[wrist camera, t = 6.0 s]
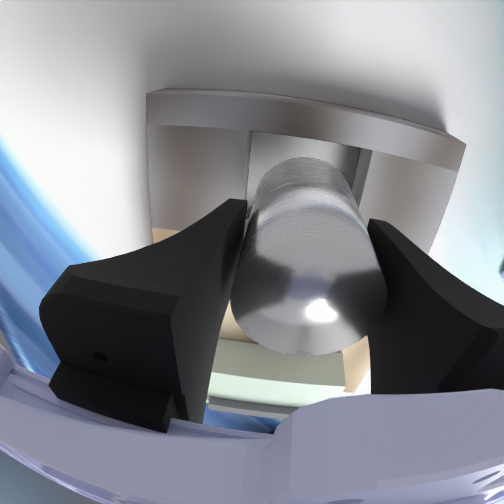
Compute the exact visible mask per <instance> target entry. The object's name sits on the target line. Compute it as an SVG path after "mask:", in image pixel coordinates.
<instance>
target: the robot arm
mask: <svg viewBox="0 0 504 504" xmlns="http://www.w3.org/2000/svg"><path fill="white" fill-rule="evenodd" d="M246 209H247V200H241V199H232V198H229V199H228V200H226V201H225V202H224V203H222V204H221V205H220V206H218V207H217V208H216V209H214V210H213V211H211V212H210V213H209V214H207V215H206V216H204V217H203V218H201V219H200V220H198V221H197V222H195V223H193V224H192V225H190V226H189V227H187V228H185V229H184V230H182V231H180V232H178V233H176V234H174V235H172V236H170V237H168V238H166V239H164V240H162V241H159V242H157V243H154V244H152V245H149V246H146V247H144V248H141V249H139V250H136V251H133V252H129V253H126V254H123V255H119V256H115V257H111V258H108V259H103V260H98V261H93V262H87V263H82V264H76V265H69V266H68V267H67V269H66V270H65V271H64V272H63V273H62V275H61V276H60V277H59V278H58V280H57V281H56V282H55V283H54V285H53V286H52V287H51V289H50V290H49V291H48V293H47V294H46V295H45V296H44V298H43V299H42V301H41V304H40V306H39V316H40V320H41V323H42V326H43V328H44V331H45V333H46V335H47V337H48V339H49V341H50V342H51V344H52V346H53V348H54V350H55V352H56V354H57V355H58V357H59V359H60V361H61V362H60V364H59V366H58V368H57V369H56V371H55V373H54V375H53V377H52V379H51V380H50V379H48V378H45V377H43V376H40V375H38V374H36V373H33V372H31V371H29V370H27V369H25V368H22V367H20V366H18V365H16V364H14V361H13V359H12V358H11V356H10V354H9V353H8V352H7V350H5V348H4V347H3V346H2V345H1V344H0V450H2V451H4V452H5V453H7V454H8V455H10V456H11V457H13V458H14V459H16V460H18V461H19V462H21V463H23V464H24V465H26V466H28V467H29V468H31V469H33V470H34V471H36V472H38V473H40V474H42V475H43V476H45V477H47V478H49V479H51V480H53V481H55V482H57V483H59V484H61V485H63V486H65V487H67V488H69V489H71V490H73V491H75V492H77V493H79V494H82V495H84V496H86V497H88V498H91V499H93V500H95V501H98V502H100V503H103V504H494V503H496V502H498V501H501V500H503V499H504V306H503V305H501V304H499V303H497V302H495V301H493V300H492V299H490V298H488V297H486V296H485V295H483V294H481V293H480V292H478V291H476V290H475V289H473V288H471V287H470V286H468V285H467V284H465V283H464V282H462V281H461V280H459V279H458V278H457V277H455V276H454V275H452V274H451V273H450V272H448V271H447V270H446V269H444V268H443V267H442V266H440V265H439V264H438V263H437V262H436V261H434V260H433V259H432V258H431V257H429V256H428V255H427V254H426V253H425V252H423V251H422V250H421V249H420V248H419V247H418V246H416V245H415V244H414V243H413V242H412V241H411V240H409V239H408V238H407V237H406V236H405V235H404V234H402V233H401V232H400V231H399V230H398V229H396V228H395V227H394V226H392V225H391V224H390V223H388V222H386V221H383V220H377V219H371V218H370V219H369V222H368V226H367V231H368V234H369V237H370V239H371V242H372V245H373V248H374V250H375V253H376V256H377V259H378V262H379V264H380V267H381V270H382V273H383V276H384V279H385V283H386V286H387V303H386V307H385V310H384V313H383V315H382V317H381V319H380V320H379V322H378V324H377V325H376V326H375V327H374V329H373V330H372V331H371V332H370V333H369V334H368V335H367V337H368V343H369V351H370V368H371V394H366V395H357V396H347V397H335V398H329V399H326V400H323V401H320V402H317V403H313V404H310V405H307V406H304V407H301V408H298V409H297V410H296V411H294V412H293V413H292V414H291V415H289V416H288V417H287V418H286V419H285V420H284V421H283V422H281V423H280V424H279V425H278V426H277V427H276V430H275V432H274V434H266V433H257V432H249V431H241V430H234V429H228V428H221V427H215V426H210V425H204V424H202V423H203V417H204V411H205V405H206V399H207V394H208V388H209V383H210V378H211V372H212V367H213V362H214V357H215V352H216V347H217V342H218V338H219V333H220V329H221V325H222V322H223V319H224V316H225V313H226V310H227V307H228V304H229V301H230V293H231V288H232V284H233V280H234V276H235V272H236V268H237V264H238V260H239V256H240V252H241V249H242V245H243V241H244V232H245V221H246ZM501 278H502V280H503V282H504V271H503V272H502V275H501Z"/></svg>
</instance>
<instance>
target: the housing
mask: <svg viewBox="0 0 504 504" xmlns="http://www.w3.org/2000/svg"><path fill="white" fill-rule="evenodd" d="M146 120H147V160H148V181H149V197H150V211H151V223H152V234H153V244H154V243H157V242H159V241H162V240H164V239H166V238H168V237H170V236H172V235H174V234H176V233H178V232H180V231H182V230H184V229H185V228H187V227H189V226H190V225H192V224H193V223H195V222H197V221H198V220H200V219H201V218H203V217H204V216H206V215H207V214H209V213H210V212H211V211H213V210H214V209H216V208H217V207H218V206H220V205H221V204H222V203H224V202H225V201H226V200H228V199H229V198H232V199H241V200H246V193H247V182H248V171H249V160H250V149H251V138H252V131H256V132H265V133H274V134H281V135H289V136H296V137H303V138H309V139H316V140H322V141H328V142H333V143H339V144H344V145H350V146H355V147H360V148H361V150H360V155H359V159H358V164H357V168H356V173H355V177H354V182H353V186H352V190H351V191H352V194H353V196H354V198H355V201H356V203H357V206H358V208H359V211H360V213H361V216H362V218H363V221H364V223H365V226H366V229H367V226H368V222H369V219H370V218H371V219H377V220H383V221H386V222H388V223H390V224H391V225H392V226H394V227H395V228H396V229H398V230H399V231H400V232H401V233H402V234H404V235H405V236H406V237H407V238H408V239H409V240H411V241H412V242H413V243H414V244H415V245H416V246H418V247H419V248H420V249H421V250H422V251H423V252H425V253H426V254H427V255H428V253H429V251H430V248H431V246H432V244H433V241H434V239H435V236H436V234H437V231H438V229H439V226H440V223H441V221H442V218H443V215H444V213H445V210H446V207H447V204H448V202H449V199H450V196H451V193H452V190H453V187H454V184H455V181H456V178H457V174H458V171H459V168H460V165H461V161H462V158H463V154H464V151H465V147H466V144H465V143H463V142H462V141H460V140H459V139H457V138H455V137H454V136H452V135H450V134H449V133H446V132H443V131H440V130H437V129H434V128H431V127H427V126H424V125H421V124H417V123H414V122H410V121H407V120H403V119H399V118H396V117H392V116H388V115H384V114H380V113H376V112H371V111H367V110H362V109H358V108H353V107H348V106H343V105H338V104H333V103H327V102H321V101H315V100H309V99H303V98H296V97H289V96H281V95H272V94H263V93H253V92H242V91H228V90H210V89H161V90H157V91H154V92H151V93H147V95H146ZM248 221H249V219H246V221H245V232H244V237H245V233H246V229H247V225H248ZM219 338H220V339H227V340H233V341H240V342H247V343H254V344H258V343H257V342H255V341H254V340H252V339H251V338H250V337H249V336H247V335H246V334H245V333H244V331H243V330H242V329H241V328H240V327H239V325H238V324H237V322H236V320H235V318H234V316H233V313H232V311H231V305H230V301H229V304H228V307H227V310H226V313H225V316H224V319H223V322H222V325H221V329H220V333H219ZM337 352H338V353H343V361H344V372H345V383H346V387H345V389H344V390H343V392H355V390H356V389H357V387H358V385H359V384H360V382H361V381H362V379H363V378H364V376H365V374H366V373H367V371H368V369H369V368H370V351H369V343H368V337H367V335H366V336H365V337H364V338H363V339H361V340H360V341H358V342H357V343H355V344H353V345H351V346H349V347H347V348H345V349H342V350H340V351H337Z"/></svg>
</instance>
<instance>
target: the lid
mask: <svg viewBox="0 0 504 504" xmlns="http://www.w3.org/2000/svg"><path fill="white" fill-rule="evenodd" d="M345 387H346V383H345V372H344V361H343V353H338V352H333V353H329V354H324V355H317V356H296V355H289V354H284V353H280V352H276V351H273V350H271V349H268V348H266V347H264V346H262V345H260V344H254V343H247V342H240V341H233V340H227V339H220V338H218V342H217V347H216V352H215V357H214V362H213V367H212V372H211V378H210V383H209V388H208V394H207V399H206V402H208V408H209V409H211V410H217V411H223V412H229V413H236V414H243V415H250V416H258V417H267V418H277V419H286V418H287V417H288V416H289V415H291V414H292V413H293V412H294V411H296V410H297V409H298V408H301V407H304V406H307V405H310V404H313V403H317V402H320V401H323V400H326V399H329V398H335V397H340V395H341V394H342V392H343V390H344V389H345Z"/></svg>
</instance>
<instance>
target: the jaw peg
mask: <svg viewBox="0 0 504 504" xmlns="http://www.w3.org/2000/svg"><path fill="white" fill-rule="evenodd" d="M386 303H387V286H386V283H385V279H384V276H383V273H382V270H381V267H380V264H379V262H378V259H377V256H376V253H375V250H374V248H373V245H372V242H371V239H370V237H369V234H368V231H367V229H366V226H365V223H364V221H363V218H362V216H361V213H360V211H359V208H358V206H357V203H356V201H355V198H354V196H353V194H352V191H351V189H350V186H349V184H348V182H347V181H346V179H345V177H344V176H343V175H342V174H341V173H340V172H339V171H338V170H337V169H336V168H335V167H333V166H332V165H330V164H329V163H327V162H325V161H322V160H319V159H315V158H309V157H299V158H292V159H289V160H285V161H283V162H281V163H279V164H277V165H276V166H274V167H273V168H271V169H270V170H269V171H268V172H267V173H266V174H265V175H264V177H263V178H262V180H261V181H260V183H259V185H258V188H257V191H256V195H255V198H254V202H253V206H252V210H251V214H250V218H249V221H248V225H247V229H246V233H245V237H244V241H243V245H242V249H241V252H240V256H239V260H238V264H237V268H236V272H235V276H234V280H233V284H232V288H231V293H230V305H231V311H232V313H233V316H234V318H235V320H236V322H237V324H238V325H239V327H240V328H241V329H242V330H243V331H244V333H245V334H246V335H247V336H249V337H250V338H251V339H252V340H254V341H255V342H257V343H258V344H260V345H262V346H264V347H266V348H268V349H271V350H273V351H276V352H280V353H284V354H289V355H296V356H317V355H324V354H329V353H333V352H337V351H340V350H342V349H345V348H347V347H349V346H351V345H353V344H355V343H357V342H358V341H360V340H361V339H363V338H364V337H365V336H366V335H368V334H369V333H370V332H371V331H372V330H373V329H374V327H375V326H376V325H377V324H378V322H379V320H380V319H381V317H382V315H383V313H384V310H385V307H386Z"/></svg>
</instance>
